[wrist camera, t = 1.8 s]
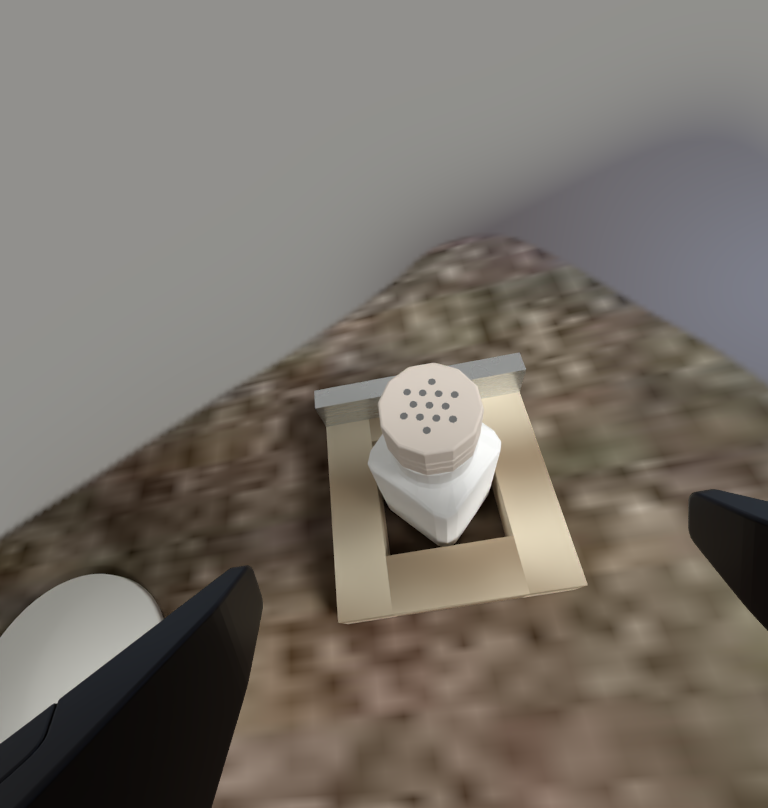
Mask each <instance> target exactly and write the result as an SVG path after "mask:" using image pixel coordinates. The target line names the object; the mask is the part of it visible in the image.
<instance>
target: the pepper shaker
mask: <svg viewBox="0 0 768 808" xmlns="http://www.w3.org/2000/svg"><path fill="white" fill-rule="evenodd" d="M378 410H379V418H380V426H381V430H382V433H383V434H382V435H381V437H380V438H379V439H378V441H377V442H376V444H375V445H374V447H373V448H372V449H371V451H370V456H369V460H368V466H369V468H370V470H371V472H372V474H373V477H374V479H375V481H376V483H377V485H378V487H379V489H380V491H381V493H382V495H383V497H384V499H385V501H386V503H387V505H388V507H389V508H390V510H391V511H393V512H394V513H395V514H397V515H398V516H399V517H401V518H402V519H403V520H405V521H406V522H407V523H409V524H410V525H411V526H413V527H414V528H415V529H417V530H418V531H419V532H421V533H422V534H423V535H425V536H426V537H427V538H429V539H430V540H431V541H433V542H434V543H435V544H437V545H438V546H442V547H446V546H452V545H453V544H455V543H456V542H457V541H458V539H459V538H460V536H461V535H462V533H463V532H464V530H465V529H466V527H467V526H468V524H469V523H470V521H471V520H472V518H473V517H474V515H475V514H476V512H477V511H478V509H479V508H480V506H481V505H482V503H483V502H484V500H485V499H486V497H487V496H488V494H489V490H490V487H491V483H492V480H493V476H494V472H495V469H496V465H497V461H498V458H499V454H500V449H501V441H500V439H499V438H498V436H497V435H496V433H495V432H494V430H492V429H491V428H490V427H488V426H487V425H485V424H484V423H482V420H483V413H484V408H483V404H482V401H481V397H480V393H479V390H478V386H477V385H476V384H474V383H473V382H472V381H471V380H470V379H469V378H468V377H467V376H466V375H465V374H463V373H462V372H461V371H460V370H459V369H456V368H452V367H449V366H445V365H441V364H437V363H429V364H424V365H418V366H412V367H408V368H407V369H405V370H404V371H403V372H401V373H400V374H398V375H397V376H396V377H394V378H393V379H391V380H390V381H389V382H388V383H387V385H386V387H385V389H384V392H383V394H382V396H381V398H380V400H379V402H378Z"/></svg>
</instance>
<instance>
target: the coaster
mask: <svg viewBox="0 0 768 808" xmlns="http://www.w3.org/2000/svg"><path fill="white" fill-rule="evenodd" d="M163 619H164V617H163V615H162V612H161V610H160V607H159V606H158V604H157V602H156V601H155V599H154V598H153V596H152V595H151V594H150V593H149V592H148V591H147V590H146V589H145V588H144V587H143V586H141V585H140V584H139V583H137V582H135V581H133V580H131V579H128V578H125V577H121V576H116V575H109V574H90V575H85V576H80V577H77V578H74V579H71V580H68V581H66V582H64V583H62V584H60V585H58V586H56V587H54V588H52V589H51V590H49V591H47V592H46V593H45V594H43V595H42V596H40V597H39V598H38V599H36V600H35V601H34V602H33V603H32V604H30V605H29V606H28V607H27V608H26V609H25V610H24V611H23V612H22V613H21V614H20V615H19V616H18V617H17V618H16V619H15V620H14V621H13V622H12V624H11V625H10V626H9V627H8V628H7V629H6V631H5V632H4V633H3V635H2V636H1V637H0V743H2V742H3V741H4V740H6V739H7V738H8V737H10V736H11V735H12V734H14V733H15V732H16V731H18V730H19V729H20V728H22V727H23V726H24V725H26V724H27V723H28V722H30V721H31V720H32V719H34V718H35V717H36V716H38V715H39V714H40V713H41V712H43V711H44V710H45V709H47V708H48V707H49V706H51V705H52V704H54V703H56V704H57V703H58V700H59V699H60V698H61V697H63V696H64V695H65V694H67V693H68V692H69V691H70V690H72V689H73V688H74V687H76V686H77V685H78V684H80V683H81V682H82V681H84V680H85V679H86V678H87V677H89V676H90V675H91V674H93V673H94V672H95V671H97V670H98V669H99V668H100V667H102V666H103V665H104V664H106V663H107V662H108V661H110V660H111V659H112V658H114V657H115V656H116V655H117V654H119V653H120V652H121V651H123V650H124V649H125V648H127V647H128V646H129V645H131V644H132V643H133V642H134V641H136V640H137V639H138V638H140V637H141V636H142V635H144V634H145V633H146V632H148V631H149V630H150V629H151V628H153V627H154V626H155V625H157V624H158V623H159V622H161V621H162V620H163Z"/></svg>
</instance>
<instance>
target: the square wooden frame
mask: <svg viewBox="0 0 768 808" xmlns="http://www.w3.org/2000/svg"><path fill="white" fill-rule="evenodd" d="M449 367H452V368H456V369H459V370H460V371H461V372H462V373H463V374H465V375H466V376H467V377H468V378H469V379H470V380H471V381H472V382H473V383H474V384H476V385H477V386H478V390H479V393H480V397H481V401H482V404H483V408H484V413H483V420H482V423H484V424H485V425H487V426H488V427H490V428H491V429H492V430H494V432H495V433H496V435H497V436H498V438H499V439H500V441H501V449H500V454H499V458H498V461H497V465H496V469H495V472H494V476H493V480H492V483H491V485H492V489H493V493H494V496H495V500H496V504H497V507H498V511H499V515H500V518H501V522H502V526H503V529H504V533H505V537H502V538H495V539H489V540H483V541H477V542H471V543H464V544H458V545H452V546H446V547H439V548H433V549H427V550H421V551H414V552H408V553H402V554H396V555H390V548H389V541H388V533H387V525H386V517H385V509H384V502H383V495H382V493H381V491H380V489H379V487H378V485H377V483H376V481H375V479H374V477H373V474H372V472H371V470H370V468H369V466H368V460H369V456H370V451H371V449H372V448H373V447H374V445H375V444H376V442H377V441H378V439H379V438H380V437H381V435H382V434H383V433H382V430H381V426H380V418H379V410H378V402H379V400H380V398H381V396H382V394H383V392H384V389H385V387H386V385H387V383H388V382H389V381H390V380H391V379H393V378H394V377H396V376H391V377H386V378H381V379H375V380H370V381H365V382H359V383H354V384H349V385H343V386H338V387H333V388H327V389H322V390H316V391H314V394H315V409H316V411H317V412H318V414H319V416H320V417H321V419H322V421H323V422H324V424H325V426H326V431H327V447H328V464H329V480H330V497H331V513H332V530H333V546H334V562H335V579H336V595H337V612H338V623H345V624H351V623H358V622H364V621H371V620H378V619H384V618H391V617H397V616H404V615H411V614H417V613H424V612H430V611H437V610H444V609H450V608H457V607H464V606H470V605H477V604H483V603H490V602H497V601H503V600H510V599H516V598H523V597H530V596H536V595H543V594H549V593H556V592H563V591H569V590H575V589H578V588H581V587H583V586H586V585H588V584H587V582H586V579H585V576H584V573H583V570H582V567H581V565H580V562H579V559H578V556H577V553H576V550H575V548H574V545H573V542H572V539H571V536H570V533H569V531H568V528H567V525H566V522H565V519H564V516H563V514H562V511H561V508H560V505H559V502H558V499H557V497H556V494H555V491H554V488H553V485H552V482H551V480H550V477H549V474H548V471H547V468H546V466H545V463H544V460H543V457H542V454H541V451H540V449H539V446H538V443H537V440H536V437H535V434H534V432H533V429H532V426H531V423H530V420H529V417H528V415H527V412H526V409H525V406H524V403H523V400H522V398H521V395H520V389H521V385H522V382H523V378H524V375H525V371H526V368H525V366H524V363H523V360H522V358H521V355H520V353H514V354H509V355H504V356H498V357H493V358H488V359H482V360H477V361H472V362H466V363H461V364H455V365H450V366H449Z"/></svg>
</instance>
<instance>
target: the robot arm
mask: <svg viewBox="0 0 768 808" xmlns="http://www.w3.org/2000/svg"><path fill="white" fill-rule="evenodd" d="M688 529H689V534H690V536H691V538H692V540H693V542H694V543H695V545H696V546H697V547H698V548H699V550H700V551H701V552H702V553H703V554H704V556H705V557H706V558H707V559H708V561H709V562H710V563H711V564H712V566H713V567H714V568H715V569H716V571H717V572H718V573H719V574H720V576H721V577H722V578H723V579H724V581H725V582H726V583H727V584H728V586H729V587H730V588H731V589H732V590H733V592H734V593H735V594H736V595H737V597H738V598H739V599H740V600H741V602H742V603H743V604H744V605H745V606H746V607H747V609H748V610H749V611H750V612H751V613H752V614H753V615H754V616H755V618H756V619H757V620H758V621H759V622H760V623H761V624H762V625H763V626H764V627H765V628H766V629H767V630H768V501H764V500H760V499H755V498H751V497H747V496H742V495H738V494H734V493H729V492H725V491H721V490H716V489H710V490H704V491H698V492H694V493H692V494H691V495H690V497H689V507H688ZM262 609H263V600H262V595H261V592H260V589H259V586H258V583H257V580H256V577H255V574H254V571H253V569H252V568H251V567H250V566H248V565H246V566H240V567H234V568H230V569H229V570H227V571H226V572H225V573H223V574H222V575H221V576H219V577H218V578H217V579H216V580H214V581H213V582H212V583H210V584H209V585H208V586H206V587H205V588H204V589H202V590H201V591H200V592H199V593H197V594H196V595H195V596H193V597H192V598H191V599H189V600H188V601H187V602H185V603H184V604H183V605H182V606H180V607H179V608H178V609H176V610H175V611H174V612H172V613H171V614H170V615H168V616H167V617H166V618H165V619H163V620H162V621H161V622H159V623H158V624H157V625H155V626H154V627H153V628H151V629H150V630H149V631H148V632H146V633H145V634H144V635H142V636H141V637H140V638H138V639H137V640H136V641H134V642H133V643H132V644H131V645H129V646H128V647H127V648H125V649H124V650H123V651H121V652H120V653H119V654H117V655H116V656H115V657H114V658H112V659H111V660H110V661H108V662H107V663H106V664H104V665H103V666H102V667H100V668H99V669H98V670H97V671H95V672H94V673H93V674H91V675H90V676H89V677H87V678H86V679H85V680H84V681H82V682H81V683H80V684H78V685H77V686H76V687H74V688H73V689H72V690H70V691H69V692H68V693H67V694H65V695H64V696H63V697H61V698H60V699H59V700H58V703H57V704H56V703H54V704H52V705H51V706H49V707H48V708H47V709H45V710H44V711H43V712H41V713H40V714H39V715H38V716H36V717H35V718H34V719H32V720H31V721H30V722H28V723H27V724H26V725H24V726H23V727H22V728H20V729H19V730H18V731H16V732H15V733H14V734H12V735H11V736H10V737H8V738H7V739H6V740H4V741H3V742H2V743H0V808H212V804H213V801H214V798H215V794H216V791H217V787H218V784H219V781H220V777H221V774H222V771H223V767H224V764H225V761H226V757H227V754H228V750H229V747H230V744H231V740H232V737H233V734H234V730H235V727H236V723H237V720H238V717H239V713H240V710H241V707H242V703H243V700H244V696H245V693H246V689H247V685H248V681H249V676H250V672H251V667H252V661H253V656H254V651H255V646H256V641H257V635H258V630H259V625H260V620H261V615H262Z"/></svg>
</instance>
